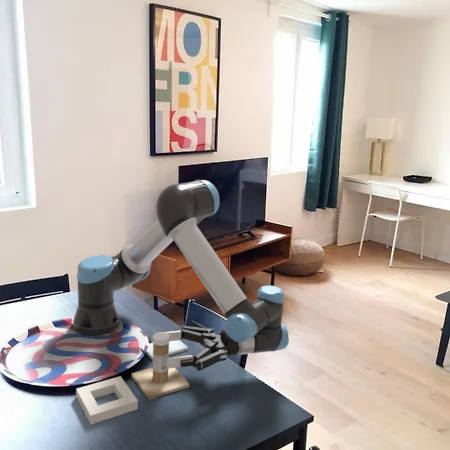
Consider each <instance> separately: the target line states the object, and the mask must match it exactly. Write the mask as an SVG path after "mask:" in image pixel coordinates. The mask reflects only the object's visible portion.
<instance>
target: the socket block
mask: <svg viewBox="0 0 450 450" xmlns="http://www.w3.org/2000/svg"><path fill="white" fill-rule="evenodd" d="M75 390H76V391H75V393H76V397H75V398H76V399H77V401H78V402H79V405H80V407H81V408H82V410H83V412H84V414H85V416H86V418H87V420H88V422H89V424H90V425H93V424H96V423H100V422H102V421H103V422H104V421H106V420H109V419H112V418H114V417H118V416H120V415H121V416H122V415H124V414H127V413H129V412H133V411H136V410H138V407H139V403H138V402H139V400H138V398H137V397H136V396H135V395H134V393H133V392H132V390H131V389H130V387H129V386H128V384H127V383H126V382H125V380H124V379H123V378H122V376H121V375H120V376H117V377H113V378H109V379H106V380H102V381H98V382H96V383H92V384H88V385H85V386H84V385H83V386H81V387H78V388H75ZM113 393H114V394H115V395H116V398H117V399H115V400H112V401H109V402H105V403H102V404H99V405H98V403H97V401H96V399H97V398H101V397H104V396H107V395H108V396H109V395H111V394H113Z"/></svg>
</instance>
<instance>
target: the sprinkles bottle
mask: <svg viewBox="0 0 450 450" xmlns="http://www.w3.org/2000/svg"><path fill="white" fill-rule="evenodd" d="M165 332H166V331H159V332H155V333H153V335H152V343H153V361H152V367H153V377H152V379H153V380H154V381H155V382H158V383H162V382H165V381H167V380H168V369H169V368H168V369H167V358H170V356H169V342H170V336H169V334H168V333H165Z"/></svg>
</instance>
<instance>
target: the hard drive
mask: <svg viewBox="0 0 450 450" xmlns="http://www.w3.org/2000/svg"><path fill="white" fill-rule="evenodd" d="M147 344H148V348H147V350H146V353H147V354H146V353H145V354H146V356H147V357H148V358H149V359H150V360H151V361H152V362H153V342H151V343H147ZM188 350H189V347H188V346H187V345H186V344H185V343H183V341H182V340H177V341H170V342H169V357H170V356H173V355H175V354H179V353H182V352H186V351H188Z"/></svg>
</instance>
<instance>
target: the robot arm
mask: <svg viewBox="0 0 450 450" xmlns="http://www.w3.org/2000/svg"><path fill="white" fill-rule="evenodd" d="M220 203H221V202H220V195H219V192H218V189H217V188H216V186H215V184H213V183H211V181H209V180H206V179H202V180H201V179H196V180H194V181H188V182H181V183H176V184H175V183H174V184H171V185H168V186H167V187H165V188H164V189H163V190H162V191H161V192H160V193H159V195H158V197H157V200H156V205H155V213H156V218H157V219H156V220H155V221H154V223H152V224H151V226H150V227H148V229H147V230H146V231H145V232H144V233H143V234H142V235H141V236H140V237H139V238H138V239H137V240H136V241H135V242H134V243H133V244H132V243H130V244H127V245H126V246H124V247H123V248H122V249H121V250H120V251H119V252H118V253H117V254H116V255H114V256H109V255H105V254H99V255H92V256H88V257H86V258H84V259H82V260H81V261H80V262H79V264H78V265H77V274H76V279H77V299H78V300H77V301H78V303H77V308H76V309H75V310H76V311H75V314H74V317H73V321H72V323H73V325H72V326H73V327H72V328H73V330H74V331H75V332H77V333H78V334H79V333H80V334H82V335H86V336H87V335H88V336H99V335H104V334H108V333H112V332H113V331H115V330H116V329H117V328H118V327H119V325H120V316H119V314H118V311H117V308H116V304H115V299H114V298H115V296H114V295H115V292H116V291H119V290H121V289H124V288H127V287H129V286H132V285H134V284H137V283H140V282H142V281H143V280H145V279H146V278H147V277H148V276H149V274H150V272H151V267H152V262H153V261H154V260H155V259H156V258H157V257H158V256H159V255H160V254H161V253H162V252H164V250H166V248H168V246H169V245H170V244H172V242H174V243H175V244H176V246H177V247H178V249H179V250H180V252H181V253H182V254H183V256H184V257H185V259H186V260H187V261H188V264H189V265H190V266H191V267H192V269H193V270H194V272H195V273H196V275H197V277H198V278H199V279H200V281H201V282H202V284H203V285H204V287H205V288H206V290H207V291H208V293H209V294H210V295H211V297H212V298H213V300H214V301H215V302H216V305H217V306H218V307H219V309H220V310H221V312H222V313H223V314H224V316H225V318H226V320H225V323H224V328H225V329H222V330H221V331H220V333H217V334H216V333H215V328H204V327H196V326H189V325H188V326H187V325H181V326H180V330H173V331H172V330H171V331H164V332H165V333H168V334H169V336H170V341H177V340H180V341H182V340H186V341H191V342H194V343H199V344H200V345H201V346H203V347H204V349H202V350H201V351H199V353H197V354H193V355H191V354H189V355H188V354H187V355H181V356H171V357H170V356H169V358H167V369H168V368H175V369H177V368H187V367H193V368H196V371H197V372H199V371H202V370H205V369H206V368H209V367H211V366H213V365H215V364H217V363H219V362H224V361H227V360H228V358H227V357H233V356H237V355H239V356H241V355H247V354H258V353H268V352H277V351H281V350H282V351H283V350H284V349H286V348H287V347H288V345H289V343H290V337H289V330H288V327H287V326H286V325H285V324H283V323H282V321H283V319H282V318H283V311H284V304H285V301H284V300H285V299H284V298H285V293H284V290H283V289H281V288H280V287H278V286H274V285H262V286H261V287H259V289H258V291H257V295H256V297H257V298H256V299H255V301H252V302H250V301H249V299H248V298H247V296H246V294H245V293H244V292H243V290H242V289H241V288H240V286H239V285H238V283H237V282H236V280H235V279H234V277H233V276H232V275H231V273H230V272H229V270H228V269H227V267H226V266H225V265H224V263H223V262H222V260H221V258H220V257H219V256H218V255H217V253H216V251H215V249H213V247H212V246H211V245H210V243H209V241H208V240H207V238H206V236H204V234H203V232H201V230H200V228H199V227H198V224H200V222H201V221H202V220H204V219H205V218H207V217H208V218H209V217H211V216H213V215H215V214H216V213H217V212H218V210H219V208H220Z"/></svg>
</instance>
